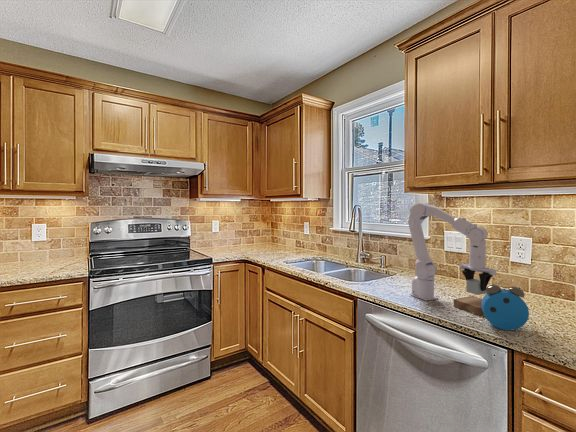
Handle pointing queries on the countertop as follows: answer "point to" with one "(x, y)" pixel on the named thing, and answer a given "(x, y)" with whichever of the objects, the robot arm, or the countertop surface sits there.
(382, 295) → the countertop surface
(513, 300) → the alarm clock
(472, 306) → the walnut base
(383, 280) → the countertop surface
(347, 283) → the countertop surface
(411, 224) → the robot arm
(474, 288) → the slate cube
